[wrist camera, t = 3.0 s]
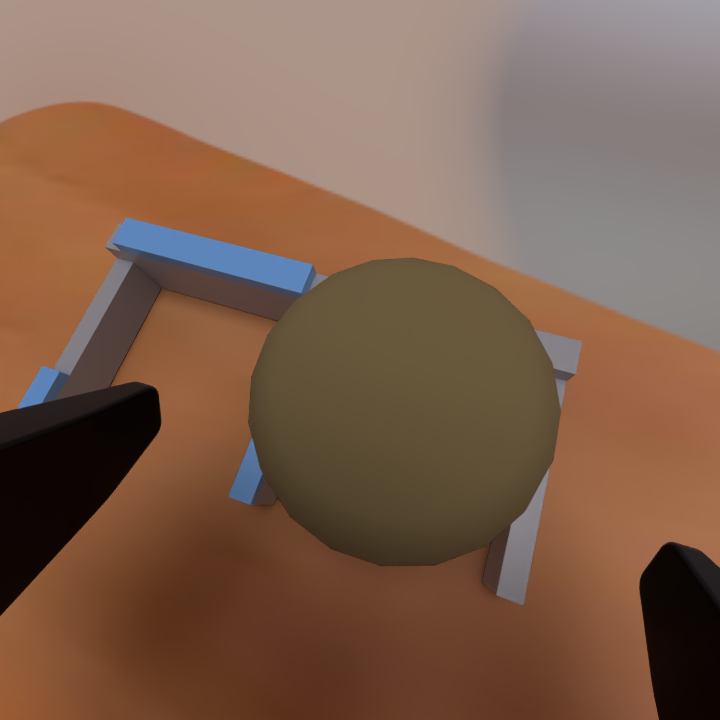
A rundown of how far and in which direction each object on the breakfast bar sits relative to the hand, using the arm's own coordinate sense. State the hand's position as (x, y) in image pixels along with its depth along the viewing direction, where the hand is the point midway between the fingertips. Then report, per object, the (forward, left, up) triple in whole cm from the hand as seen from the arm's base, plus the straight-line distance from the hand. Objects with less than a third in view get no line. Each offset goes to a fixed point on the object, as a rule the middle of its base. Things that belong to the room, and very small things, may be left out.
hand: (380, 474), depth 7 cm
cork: (+1, +1, -9) cm, 9 cm away
